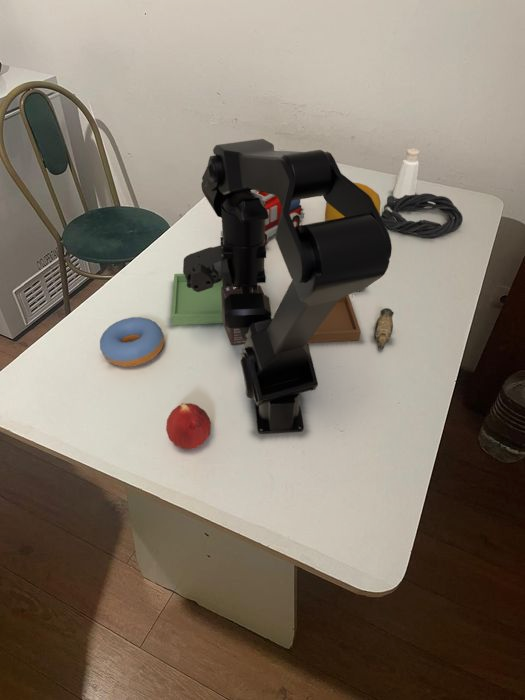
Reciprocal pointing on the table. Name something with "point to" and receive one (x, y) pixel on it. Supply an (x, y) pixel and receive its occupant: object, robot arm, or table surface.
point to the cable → (420, 203)
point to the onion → (188, 426)
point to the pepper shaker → (407, 175)
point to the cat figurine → (384, 327)
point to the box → (232, 333)
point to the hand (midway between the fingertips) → (244, 323)
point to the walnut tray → (338, 324)
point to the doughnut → (143, 338)
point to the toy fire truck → (278, 212)
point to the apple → (334, 214)
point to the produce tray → (195, 303)
